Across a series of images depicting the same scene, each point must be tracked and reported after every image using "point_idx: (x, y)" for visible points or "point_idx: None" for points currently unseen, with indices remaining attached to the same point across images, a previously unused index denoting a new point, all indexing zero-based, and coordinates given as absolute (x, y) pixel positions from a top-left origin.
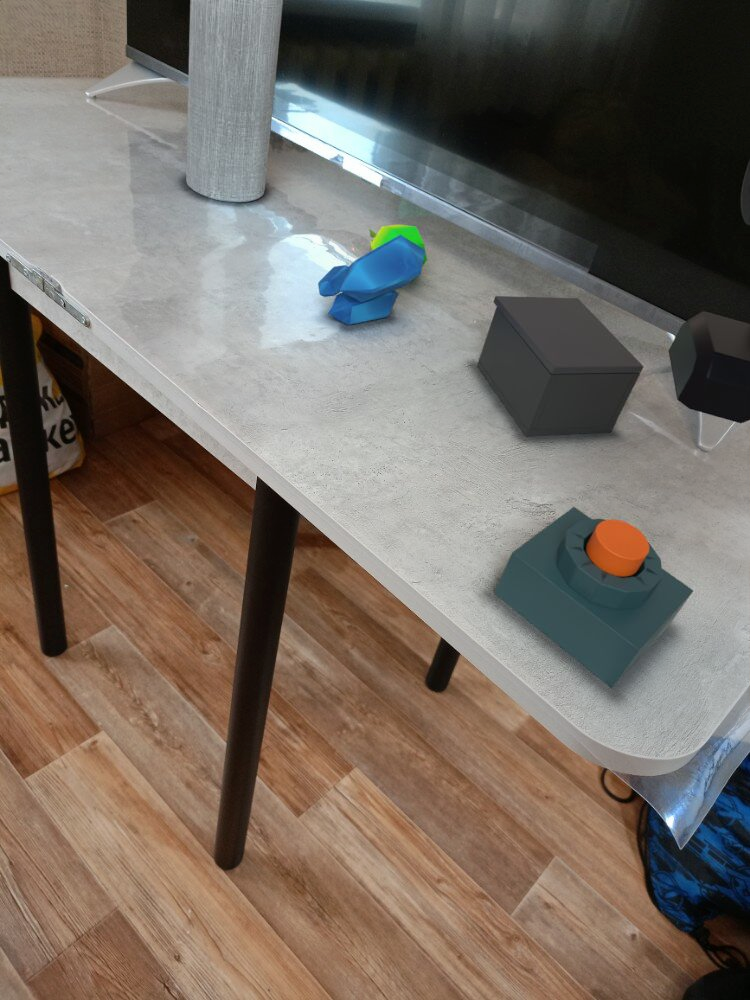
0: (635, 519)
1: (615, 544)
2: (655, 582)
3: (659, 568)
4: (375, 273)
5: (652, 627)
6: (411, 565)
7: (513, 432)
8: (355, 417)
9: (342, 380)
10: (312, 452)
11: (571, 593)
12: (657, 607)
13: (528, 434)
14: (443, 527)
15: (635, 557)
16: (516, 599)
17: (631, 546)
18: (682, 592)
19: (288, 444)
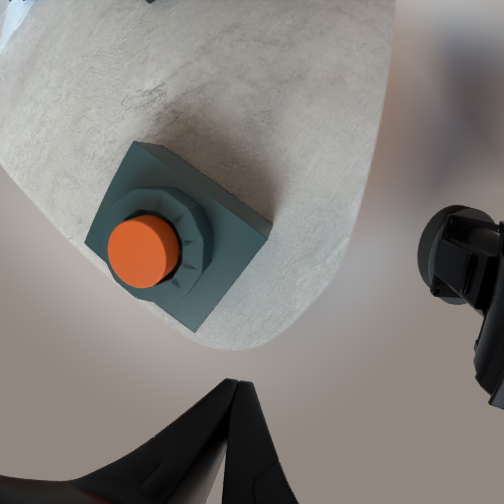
0: (260, 64)
1: (127, 269)
2: (192, 282)
3: (200, 257)
4: None
5: (209, 306)
6: (65, 222)
7: (138, 5)
8: (29, 80)
9: (26, 48)
10: (12, 137)
11: None
12: (217, 278)
13: (150, 1)
14: (76, 168)
15: (148, 285)
16: None
17: (144, 266)
18: (252, 245)
19: (3, 139)
